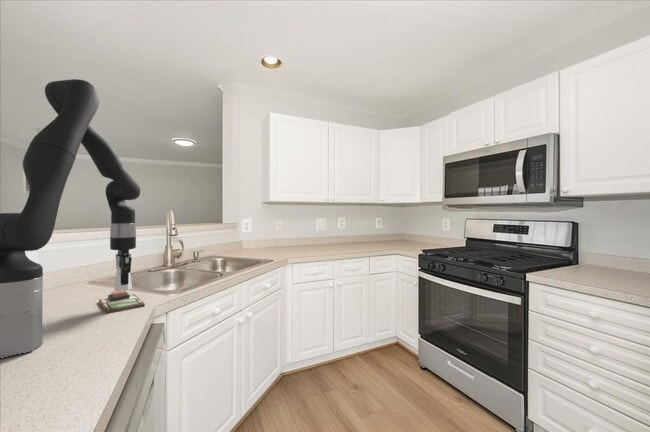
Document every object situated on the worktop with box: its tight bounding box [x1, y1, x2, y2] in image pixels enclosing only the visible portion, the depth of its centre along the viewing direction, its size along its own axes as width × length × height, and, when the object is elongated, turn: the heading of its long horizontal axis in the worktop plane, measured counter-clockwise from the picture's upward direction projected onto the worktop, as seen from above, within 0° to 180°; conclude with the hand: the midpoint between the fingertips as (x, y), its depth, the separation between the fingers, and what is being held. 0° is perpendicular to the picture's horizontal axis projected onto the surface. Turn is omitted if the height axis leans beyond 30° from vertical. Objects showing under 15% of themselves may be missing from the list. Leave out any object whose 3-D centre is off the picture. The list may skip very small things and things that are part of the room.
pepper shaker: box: [113, 266, 133, 292], centre depth 100 cm, size 5×5×11 cm
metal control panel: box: [98, 291, 146, 315], centre depth 103 cm, size 17×11×2 cm, turn 45°
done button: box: [111, 290, 127, 297], centre depth 106 cm, size 4×4×2 cm
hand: (123, 283), depth 100 cm, fingers closed on pepper shaker, 3 cm apart
